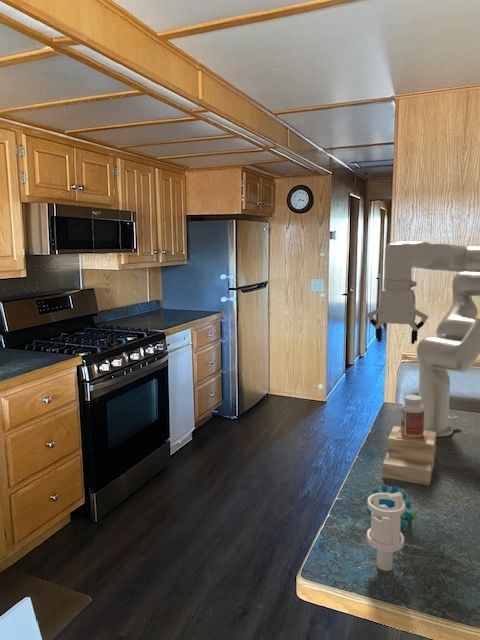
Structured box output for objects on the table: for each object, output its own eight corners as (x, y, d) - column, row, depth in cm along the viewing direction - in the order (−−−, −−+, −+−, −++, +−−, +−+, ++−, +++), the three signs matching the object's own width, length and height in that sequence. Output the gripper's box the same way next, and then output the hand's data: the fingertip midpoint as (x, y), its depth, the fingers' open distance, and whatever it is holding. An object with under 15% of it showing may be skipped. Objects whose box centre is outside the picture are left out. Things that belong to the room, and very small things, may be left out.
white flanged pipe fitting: (410, 572, 96) (413, 501, 93) (380, 581, 93) (382, 509, 91) (388, 551, 102) (389, 484, 100) (359, 559, 100) (360, 491, 97)
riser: (393, 450, 149) (393, 425, 148) (435, 457, 144) (436, 431, 143) (382, 476, 133) (383, 448, 132) (429, 485, 128) (430, 456, 127)
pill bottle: (427, 434, 140) (429, 397, 138) (414, 440, 137) (415, 402, 135) (409, 428, 145) (410, 392, 144) (396, 433, 142) (397, 396, 140)
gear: (359, 519, 111) (374, 478, 115) (363, 525, 116) (376, 486, 120) (408, 539, 106) (422, 496, 110) (410, 546, 110) (423, 503, 114)
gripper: (430, 284, 143) (428, 341, 146) (370, 283, 151) (369, 337, 154) (427, 287, 137) (425, 346, 140) (365, 286, 144) (364, 342, 147)
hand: (396, 342), depth 147 cm, fingers open, 9 cm apart
